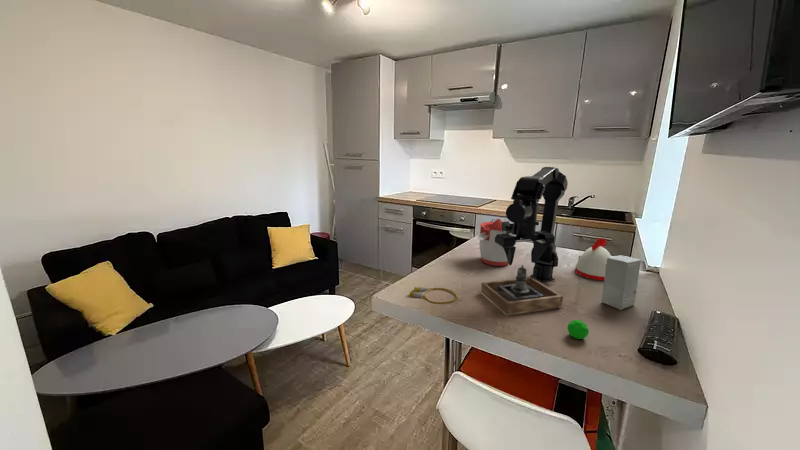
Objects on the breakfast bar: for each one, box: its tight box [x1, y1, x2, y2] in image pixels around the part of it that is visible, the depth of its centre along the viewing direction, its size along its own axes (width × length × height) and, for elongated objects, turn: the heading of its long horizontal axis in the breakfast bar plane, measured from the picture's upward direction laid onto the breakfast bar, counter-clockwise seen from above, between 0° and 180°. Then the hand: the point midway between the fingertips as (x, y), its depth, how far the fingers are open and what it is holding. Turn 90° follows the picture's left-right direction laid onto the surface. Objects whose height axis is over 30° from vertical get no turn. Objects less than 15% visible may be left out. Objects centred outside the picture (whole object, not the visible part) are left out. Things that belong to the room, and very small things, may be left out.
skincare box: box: [601, 254, 642, 311], centre depth 104 cm, size 8×7×16 cm
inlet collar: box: [498, 284, 544, 302], centre depth 108 cm, size 10×10×3 cm
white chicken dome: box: [574, 237, 612, 281], centre depth 130 cm, size 14×14×15 cm
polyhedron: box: [566, 319, 590, 340], centre depth 87 cm, size 5×5×5 cm
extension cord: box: [409, 286, 458, 305], centre depth 112 cm, size 12×16×2 cm
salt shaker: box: [511, 265, 530, 297], centre depth 107 cm, size 6×6×12 cm
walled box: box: [480, 276, 564, 316], centre depth 108 cm, size 20×16×4 cm
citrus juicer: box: [477, 218, 516, 267], centre depth 142 cm, size 16×17×20 cm
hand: (522, 263), depth 106 cm, fingers open, 9 cm apart
